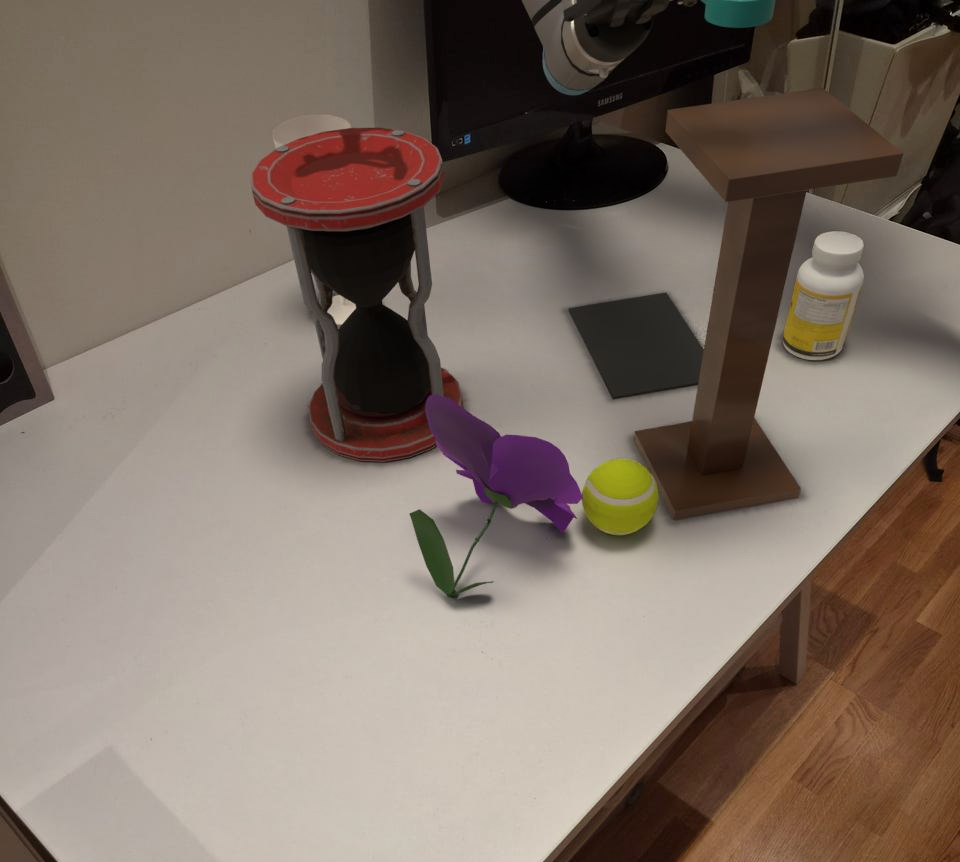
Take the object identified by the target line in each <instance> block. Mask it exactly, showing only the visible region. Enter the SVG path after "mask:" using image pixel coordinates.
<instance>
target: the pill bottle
mask: <svg viewBox="0 0 960 862" xmlns="http://www.w3.org/2000/svg"><path fill="white" fill-rule="evenodd" d="M864 247H865V243H864V240H862V238H861V237H860V236H858V235H856V234H853V233H851V232H848V231H841V230H839V231H837V230H836V231H827V232H823V233H821V234H819V235H817V236H816V238H815V240H814V243H813V247H812V251H811V256H812V257H810V258H808V259H806V260H805V261H804V262H803V263H802V264H801V265H800V267H799V268H798V272H797V274H796V278H795V283H794V287H793V291H792V295H791V300H790V304H789V308H788V312H787V317H786V321H785V325H784V330H783V334H782V344H783V346H784V348H785V350H786V351H787V352H788V353H790V354H791V355H793V356H794V357H797V358H800V359H803V360H807V361H824V360H829V359H830V358H833V357H835V356H837V355H838V354H839V353H841V352H842V349H844V346H845V344H846V340H847V336H848V334H849V330H850V328H851V324H852V321H853V317H854V314H855V311H856V307H857V304H858V301H859V297H860V294H861V290H862V287H863V283H864V280H865V274H864V273H865V272H864V270H863V268H862V266H861V265H860V263H858V262H860V260H861V257H862V256H863V255H862V254H863V251H864Z"/></svg>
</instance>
